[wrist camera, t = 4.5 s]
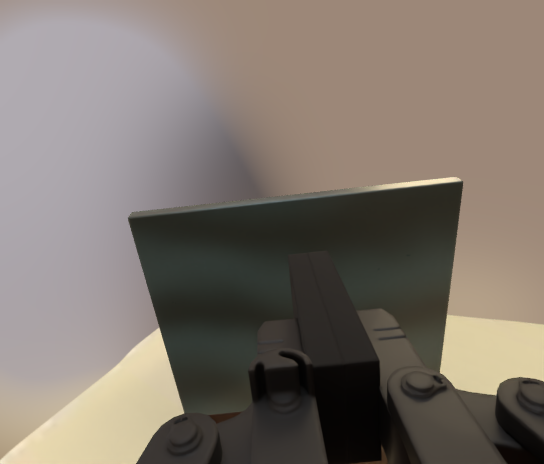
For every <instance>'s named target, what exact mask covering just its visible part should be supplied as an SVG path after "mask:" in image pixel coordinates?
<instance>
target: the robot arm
mask: <svg viewBox="0 0 544 464" xmlns="http://www.w3.org/2000/svg"><path fill="white" fill-rule="evenodd" d="M288 264H289V274H290V284H291V295H292V305H293V316H294V318H292V319H282V320H273V321H264V323H263V324H262V326H261V327H260V329H259V330H258V334H257V344H258V345H257V357H256V358H255V359H254V360H253V361H252V362H251V364H250V366H249V369H248V374H249V381H250V388H251V395H252V403H251V404H250V405H249V406H248V408H247V409H246V410H244V411H243V412H241V413H240V414H239V415H237V416H234V417H232V418H230V419H228V420H225V421H222V422H220V423H217V424H216V421H214V420H213V419H212V418H211V417H210V416H208V415H205V414H202V413H198V412H197V413H185V414H182V415H179V416H177V417H174V418H172V419H171V420H169V421H168V422H166V423H165V424H163V425H162V426H161V427H160V428H159V429H158V431H157V432H156V433H155V434H154V435H153V437H152V439H151V440H150V442H149V443H148V445H147V447H146V448H145V450H144V452H143V453H142V455H141V457H140V458H139V460H138V461H137V463H136V464H353V463H363V462H373V461H382V453H381V444H382V447H383V449H384V452H385V455H386V458H387V460H388V464H544V382H543V381H540V380H537V379H531V378H522V377H519V378H511V379H507V380H506V381H504V382H502V383H500V385H499V388H498V390H497V396H495V395H487V394H480V393H472V392H467V391H462V390H458V389H455V388H454V386H453V385H452V383H451V382H450V381H449V380H448V379H447V378H446V377H445V376H444V375H442V374H440V373H438V372H436V371H435V370H433V369H429V368H427V367H426V366H425V364H424V362H423V361H422V359H421V358H420V356H419V355H418V353H417V352H416V350H415V348H414V347H413V345H412V344H411V342H410V341H409V339H408V338H406V335H405V333H404V331H403V330H402V329H401V328H400V325H399V324H398V322H397V321H396V319H395V318H394V316H393V315H391V314H389V313H388V312H386V311H385V310H383V309H382V308H377V309H367V310H357V311H356V309H355V307H354V305H353V303H352V301H351V299H350V297H349V295H348V292H347V290H346V288H345V286H344V284H343V282H342V280H341V278H340V276H339V274H338V271H337V269H336V267H335V265H334V263H333V261H332V259H331V257H330V255H329V253H328V251H319V252H309V253H300V254H290V255H288Z"/></svg>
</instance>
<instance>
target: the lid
mask: <svg viewBox="0 0 544 464" xmlns="http://www.w3.org/2000/svg"><path fill="white" fill-rule="evenodd" d="M462 189H463V181H462V180H460V179H458V178H457V177H451V178H442V179H432V180H424V181H414V182H405V183H396V184H387V185H377V186H368V187H360V188H350V189H341V190H332V191H323V192H314V193H304V194H295V195H286V196H277V197H268V198H259V199H249V200H240V201H231V202H222V203H213V204H203V205H194V206H185V207H176V208H167V209H157V210H148V211H140V212H132V213H131V214H130V216H129V217H128V221H129V224H130V228H131V231H132V235H133V238H134V241H135V245H136V248H137V252H138V255H139V259H140V262H141V266H142V269H143V272H144V275H145V279H146V283H147V286H148V289H149V293H150V296H151V300H152V303H153V307H154V310H155V313H156V317H157V320H158V324H159V327H160V331H161V334H162V338H163V341H164V345H165V348H166V351H167V355H168V358H169V362H170V365H171V369H172V372H173V375H174V379H175V382H176V386H177V389H178V393H179V396H180V399H181V403H182V406H183V410H184V413H197V412H198V413H202V414H205V415H214V414H223V413H233V412H242V411H244V410H246V409H247V408H248V406H249V405H250V404H251V403H252V395H251V388H250V381H249V374H248V369H249V366H250V364H251V362H252V361H253V360H254V359H255V358H256V357H257V345H258V344H257V334H258V330H259V329H260V327H261V326H262V324H263V323H264V321H273V320H282V319H292V318H294V316H293V305H292V295H291V284H290V274H289V264H288V255H290V254H300V253H309V252H319V251H328V253H329V255H330V257H331V259H332V261H333V263H334V265H335V267H336V269H337V271H338V274H339V276H340V278H341V280H342V282H343V284H344V286H345V288H346V290H347V292H348V295H349V297H350V299H351V301H352V303H353V305H354V307H355V309H356V311H357V310H367V309H377V308H382V309H383V310H385V311H386V312H388V313H389V314H391V315H393V316H394V318H395V319H396V321H397V322H398V324H399V325H400V328H401V329H402V330H403V331H404V333H405V335H406V338H408V339H409V341H410V342H411V344H412V345H413V347H414V348H415V350H416V352H417V353H418V355H419V356H420V358H421V359H422V361H423V362H424V364H425V366H426V367H427V368H429V369H433V370H435V371H436V372H438V373H440V366H441V358H442V350H443V342H444V334H445V326H446V318H447V309H448V301H449V293H450V285H451V277H452V269H453V261H454V253H455V245H456V237H457V229H458V221H459V213H460V205H461V196H462Z"/></svg>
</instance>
